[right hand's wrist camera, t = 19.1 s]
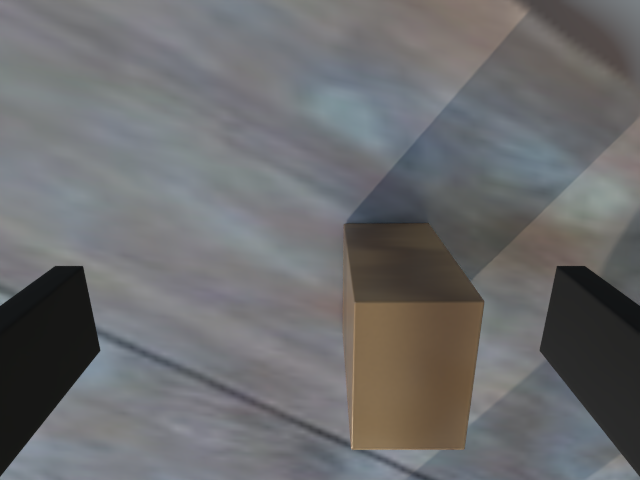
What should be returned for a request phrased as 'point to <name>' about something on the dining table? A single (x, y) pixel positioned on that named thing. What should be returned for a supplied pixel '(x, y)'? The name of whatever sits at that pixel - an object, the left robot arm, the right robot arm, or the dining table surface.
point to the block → (407, 338)
